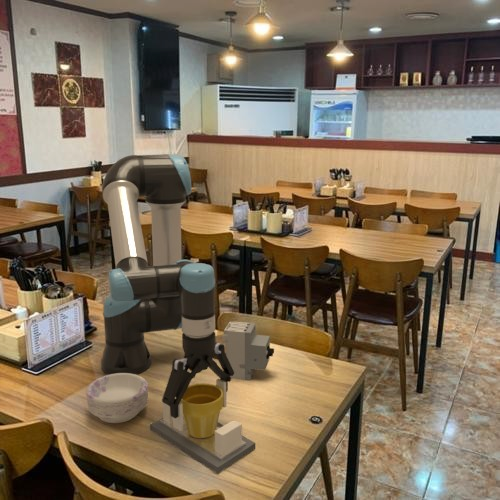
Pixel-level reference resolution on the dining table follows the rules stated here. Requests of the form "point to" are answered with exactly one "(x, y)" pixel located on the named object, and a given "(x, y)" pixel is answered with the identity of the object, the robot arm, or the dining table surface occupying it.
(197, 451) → the mounting plate
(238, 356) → the circuit breaker
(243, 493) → the dining table surface
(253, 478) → the dining table surface
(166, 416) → the mounted modules
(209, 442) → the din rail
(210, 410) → the plant pot
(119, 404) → the paper bowls
